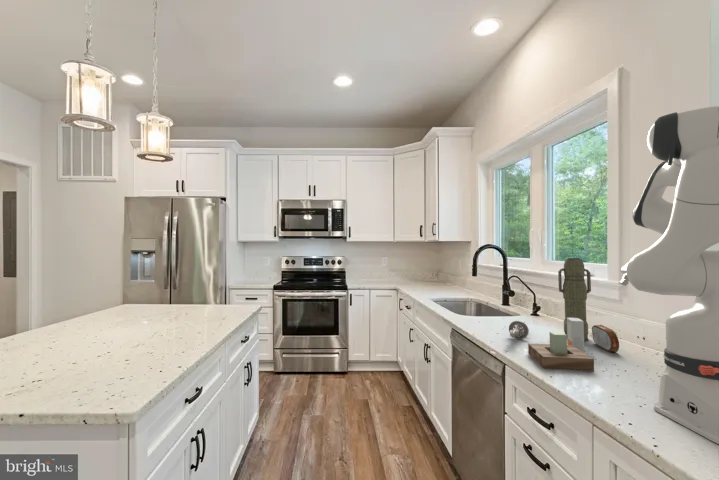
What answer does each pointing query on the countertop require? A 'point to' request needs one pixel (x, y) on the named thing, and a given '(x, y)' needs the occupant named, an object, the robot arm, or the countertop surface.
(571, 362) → the walnut holder
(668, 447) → the countertop surface
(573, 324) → the skincare box
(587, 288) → the thermos
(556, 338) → the green block
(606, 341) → the tin
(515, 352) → the countertop surface
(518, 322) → the spaceship
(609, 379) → the countertop surface
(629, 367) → the countertop surface
